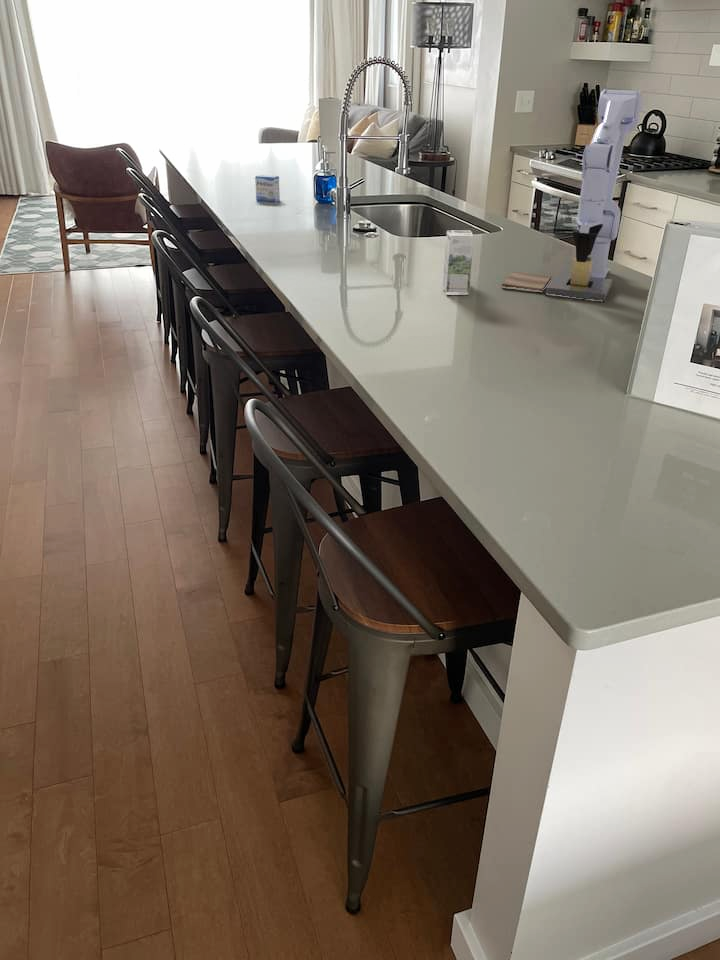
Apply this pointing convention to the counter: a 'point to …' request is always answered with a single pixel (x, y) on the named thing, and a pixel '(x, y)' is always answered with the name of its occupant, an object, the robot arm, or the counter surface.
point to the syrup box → (458, 260)
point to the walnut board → (527, 281)
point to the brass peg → (581, 273)
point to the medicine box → (267, 188)
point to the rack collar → (594, 291)
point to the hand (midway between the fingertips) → (583, 258)
